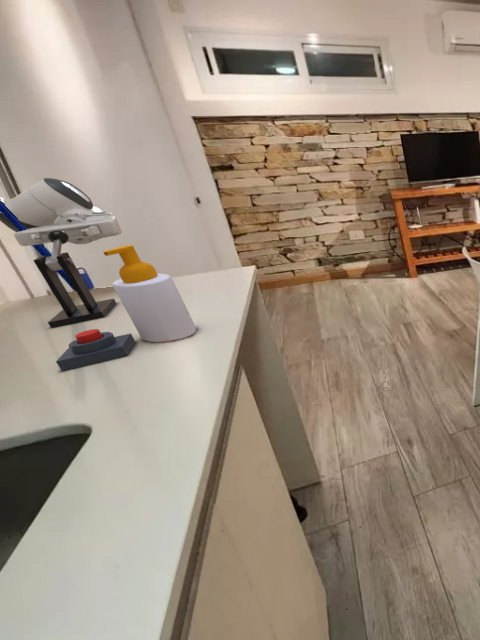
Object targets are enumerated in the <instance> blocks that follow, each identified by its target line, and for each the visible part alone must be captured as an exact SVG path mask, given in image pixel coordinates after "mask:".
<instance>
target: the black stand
mask: <svg viewBox="0 0 480 640" xmlns="http://www.w3.org/2000/svg"><path fill="white" fill-rule="evenodd" d="M46 257H47V256H46V255H41V256H39V257H37V258H35V259H33V263H34V264H35V265H36V268H37V269H38V271H39V272H40V274H41V275H42V277H43V279H44V280H45V283H46V284H47V285H48V287H49V289H50V291H51V292H52V293H53V295H54V297H55V298H56V300H57V301H58V303H59V305H60V306H61V308H62V309H61V311H59V312H58V313H57V314H56V315H55V316H53V318H51V319H50V320H48V321H47V324H48V326H49V327H50V328H51V329H53V328H57V327H58V328H59V327H63V326H68V325H73V324H78V323H84V322H88V321H92V320H97V319H98V320H99V319H103V318H106V317H107V315H108V314H109V313H110V311H111V310H112V309H113V308H114V307H115V306H116V305H117V301H116V300H115V298H109V299H104V300H99V301H96V299H95V297H94V296H93V294H92V293H91V291H90V288H89V287H88V285H87V284H86V282H85V280H84V278H83V277H82V275H81V273H80V272H79V270H78V268H77V267H76V264H75V263H74V261H73V259H72V257H71V256H70V254H69V252H68V251H66V252H61V254H60V255H58V256H57V257H56V258H57V259H58V261H59V263H60V265H61V266H62V268H63V270H62V271H64V273H65V275H66V276H67V279H68V280H69V282H70V283H71V285H72V287H73V289H74V290H75V292H76V293H77V295H78V297H79V298H80V300H81V302H82V304H78V305H76V303H75V302H74V301H73V299H72V296H71V295H70V294H69V292H68V290H67V289H66V287H65V285H64V284H63V282H62V280H61V279H60V277H59V275H58V274H57V271H51V270H50V269H49V268H48V267H47V265H46V264H45V262H46Z"/></svg>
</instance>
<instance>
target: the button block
mask: <svg viewBox="0 0 480 640" xmlns="http://www.w3.org/2000/svg"><path fill="white" fill-rule="evenodd" d="M100 333H101V334H102V336H103V337H102V338H100V339H98V340H95V341H92V342H88V343H83V344H79V342H78V340H77V339H74V340H72V341H70V343H68V345H67V346H68V347H67V349H66V350H65V351H64V352H63V353H62V354H61V355H60V356H59V358H57V360H56V361H55V363H56V364H57V366H58V368H59V369H60V371H61V372H64V371H69V370H73V369H77V368H81V367H86V366H90V365H94V364H99V363H103V362H107V361H111V360H116V359H120V358H123V357H127V356H128V355H129V354H130V352H131V351H132V349H133V347H134V346H135V344H136V340H135V338H134V336H133V334H132V333H125V334H122V335H117V336H115V335H114V334H113V332H110V331H102V332H101V331H100Z"/></svg>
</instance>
